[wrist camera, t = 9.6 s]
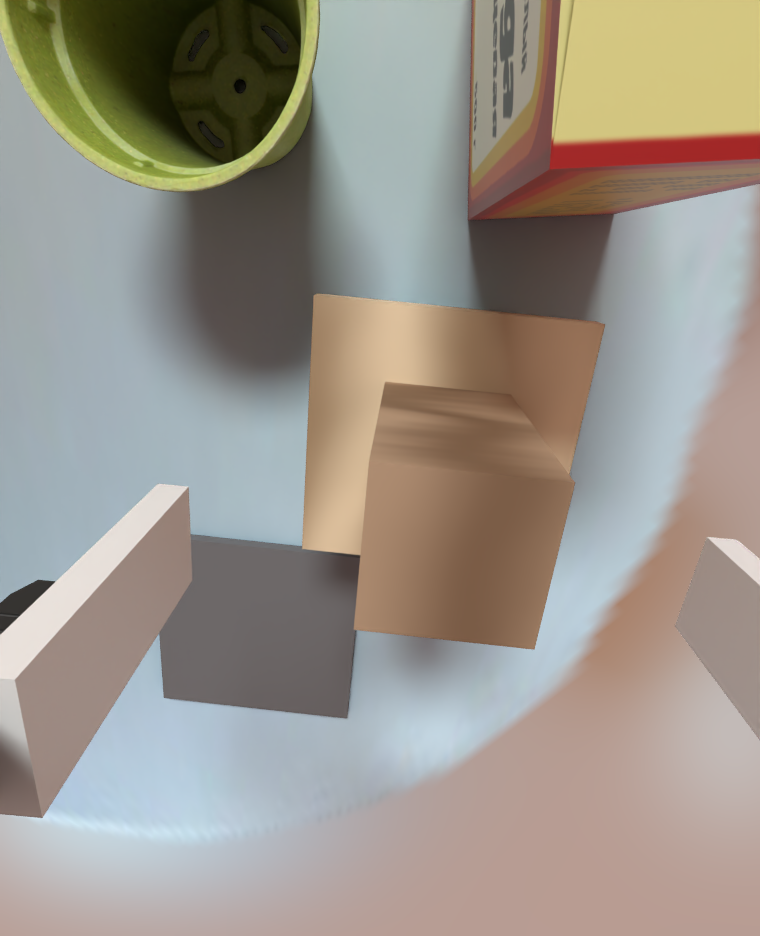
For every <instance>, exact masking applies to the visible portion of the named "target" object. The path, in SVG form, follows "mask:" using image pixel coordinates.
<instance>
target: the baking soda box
mask: <svg viewBox="0 0 760 936" xmlns="http://www.w3.org/2000/svg"><path fill="white" fill-rule="evenodd" d="M756 184H760V0H472V23H471V76H470V128H469V180H468V220H484V219H507V218H530V217H552V216H575V215H598V214H616V213H620V212H625V211H630V210H635V209H640V208H644V207H649V206H654V205H659V204H664V203H669V202H673V201H678V200H683V199H688V198H693V197H698V196H702V195H707V194H712V193H717V192H722V191H727V190H731V189H736V188H741V187H746V186H751V185H756Z"/></svg>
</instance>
